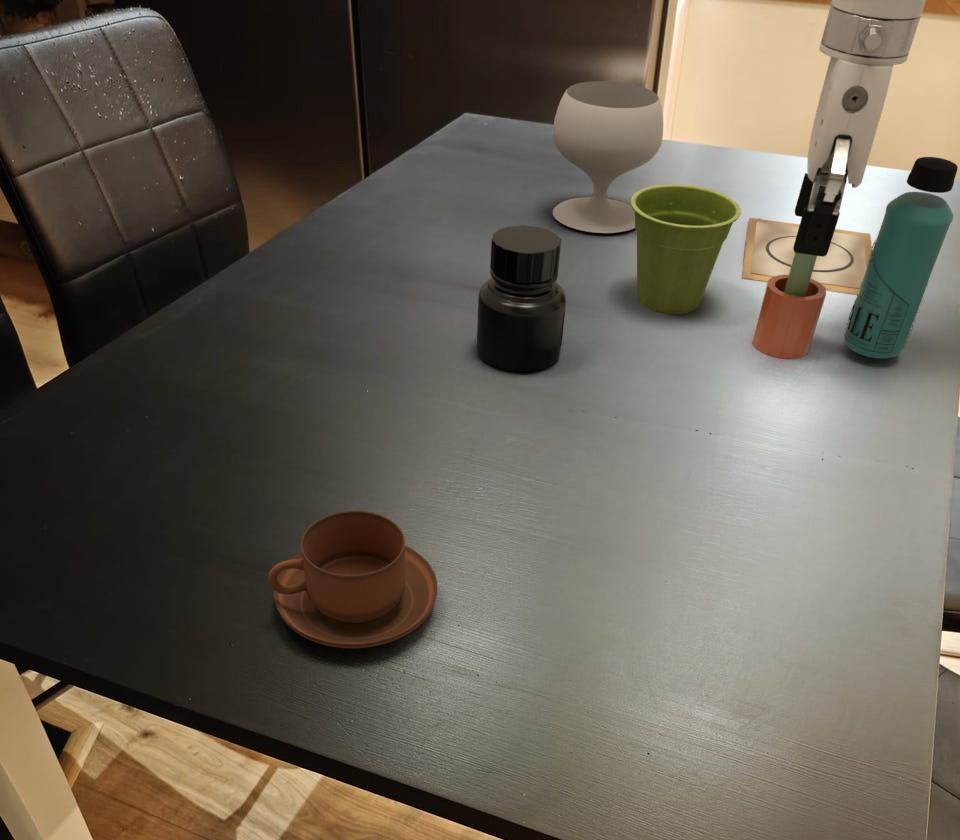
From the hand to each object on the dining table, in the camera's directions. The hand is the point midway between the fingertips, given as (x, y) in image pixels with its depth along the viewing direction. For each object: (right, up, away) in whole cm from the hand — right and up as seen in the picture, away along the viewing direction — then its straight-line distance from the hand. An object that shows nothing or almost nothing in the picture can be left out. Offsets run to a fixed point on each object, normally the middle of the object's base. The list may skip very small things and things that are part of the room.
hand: (809, 234), depth 93 cm
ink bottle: (-29, -10, +6) cm, 31 cm away
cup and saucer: (-42, -38, -23) cm, 61 cm away
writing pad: (+9, +8, +26) cm, 29 cm away
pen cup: (0, -9, +9) cm, 12 cm away
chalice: (-17, +17, +33) cm, 41 cm away
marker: (0, -8, +8) cm, 12 cm away
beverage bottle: (+9, -10, +8) cm, 16 cm away
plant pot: (-11, -1, +16) cm, 19 cm away
